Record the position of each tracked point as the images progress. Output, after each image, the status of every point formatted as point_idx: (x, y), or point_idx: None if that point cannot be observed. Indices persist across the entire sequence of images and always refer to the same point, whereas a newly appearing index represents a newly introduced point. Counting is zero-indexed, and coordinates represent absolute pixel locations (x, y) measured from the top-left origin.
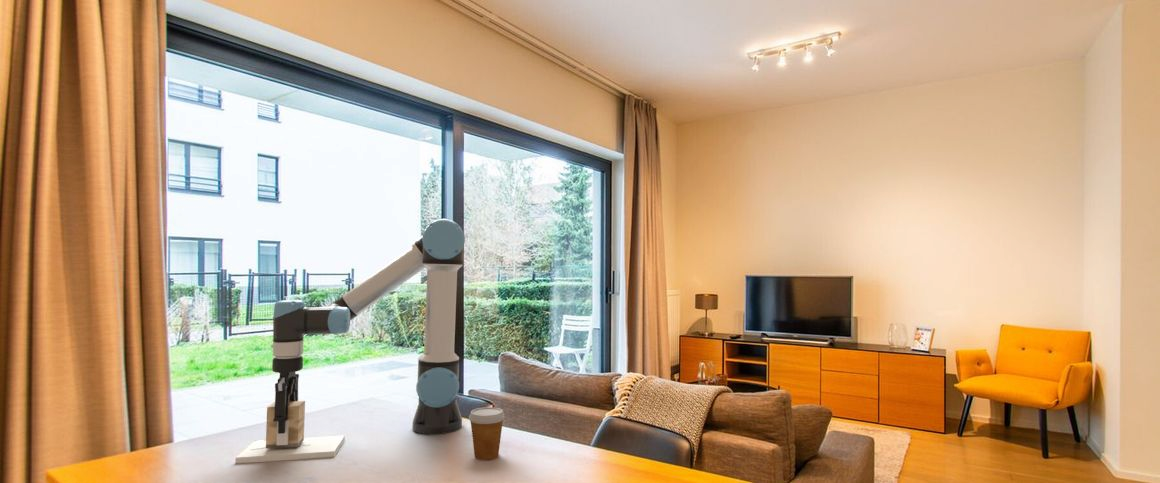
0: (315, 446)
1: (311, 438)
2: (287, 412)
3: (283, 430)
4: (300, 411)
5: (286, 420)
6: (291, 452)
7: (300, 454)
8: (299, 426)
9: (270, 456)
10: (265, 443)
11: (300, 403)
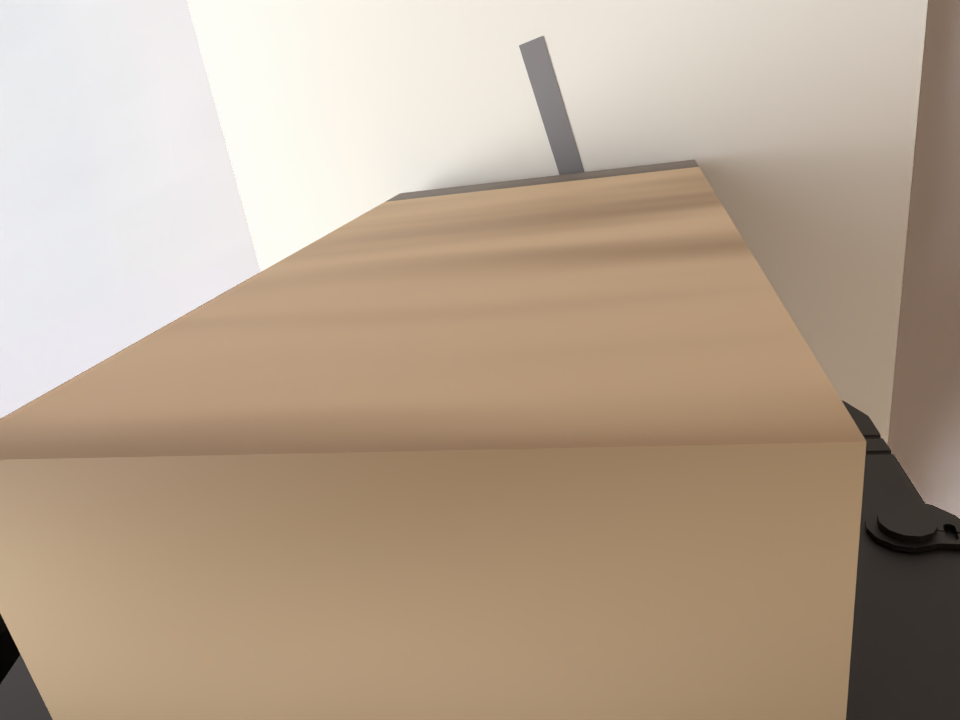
0: None
1: (270, 144)
2: (888, 646)
3: (872, 433)
4: (584, 330)
5: (907, 505)
6: (842, 182)
7: (921, 28)
8: (641, 221)
9: (889, 393)
10: None
11: (335, 512)
